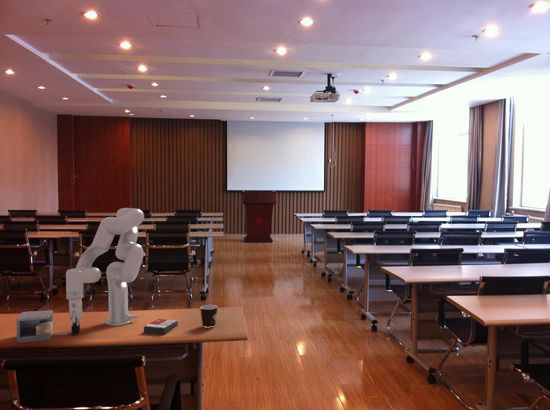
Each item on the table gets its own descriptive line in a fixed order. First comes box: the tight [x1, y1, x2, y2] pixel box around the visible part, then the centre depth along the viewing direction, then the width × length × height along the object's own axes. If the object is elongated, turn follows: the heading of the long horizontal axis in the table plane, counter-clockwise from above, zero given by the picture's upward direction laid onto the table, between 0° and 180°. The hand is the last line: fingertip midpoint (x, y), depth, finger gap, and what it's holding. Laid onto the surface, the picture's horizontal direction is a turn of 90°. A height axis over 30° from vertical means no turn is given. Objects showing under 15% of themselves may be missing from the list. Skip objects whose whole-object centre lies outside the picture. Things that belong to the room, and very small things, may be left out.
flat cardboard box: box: [143, 318, 179, 336], centre depth 231 cm, size 11×4×15 cm
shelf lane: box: [15, 309, 54, 344], centre depth 218 cm, size 13×12×11 cm
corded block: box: [36, 319, 80, 339], centre depth 221 cm, size 18×6×7 cm, turn 106°
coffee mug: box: [199, 304, 218, 327], centre depth 237 cm, size 12×9×10 cm
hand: (75, 332), depth 224 cm, fingers closed on corded block, 3 cm apart
